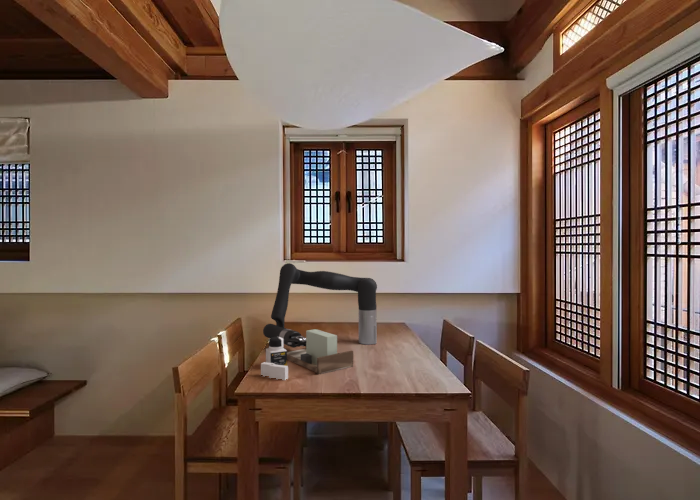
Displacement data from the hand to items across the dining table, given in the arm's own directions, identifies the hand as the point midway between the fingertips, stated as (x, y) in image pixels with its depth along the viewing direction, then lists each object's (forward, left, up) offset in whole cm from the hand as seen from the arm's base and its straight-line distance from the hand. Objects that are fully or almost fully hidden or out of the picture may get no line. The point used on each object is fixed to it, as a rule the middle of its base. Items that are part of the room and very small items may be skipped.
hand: (310, 344), depth 188 cm
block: (-6, +7, -6) cm, 11 cm away
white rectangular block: (+9, +24, -7) cm, 27 cm away
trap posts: (-4, +4, -6) cm, 9 cm away
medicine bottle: (+12, +11, -7) cm, 18 cm away
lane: (-1, +1, -7) cm, 7 cm away
